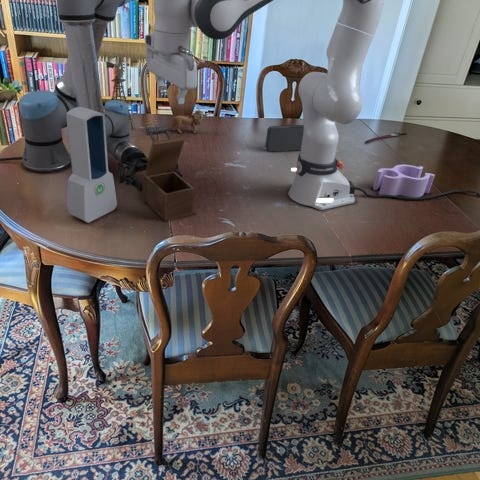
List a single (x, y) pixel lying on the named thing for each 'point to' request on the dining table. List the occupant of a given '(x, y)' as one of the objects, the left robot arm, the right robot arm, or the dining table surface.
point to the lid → (163, 152)
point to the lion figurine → (188, 121)
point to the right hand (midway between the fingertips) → (170, 98)
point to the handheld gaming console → (284, 138)
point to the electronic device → (89, 166)
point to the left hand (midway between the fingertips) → (161, 183)
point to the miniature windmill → (118, 77)
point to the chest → (170, 195)
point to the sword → (384, 137)
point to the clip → (403, 181)
